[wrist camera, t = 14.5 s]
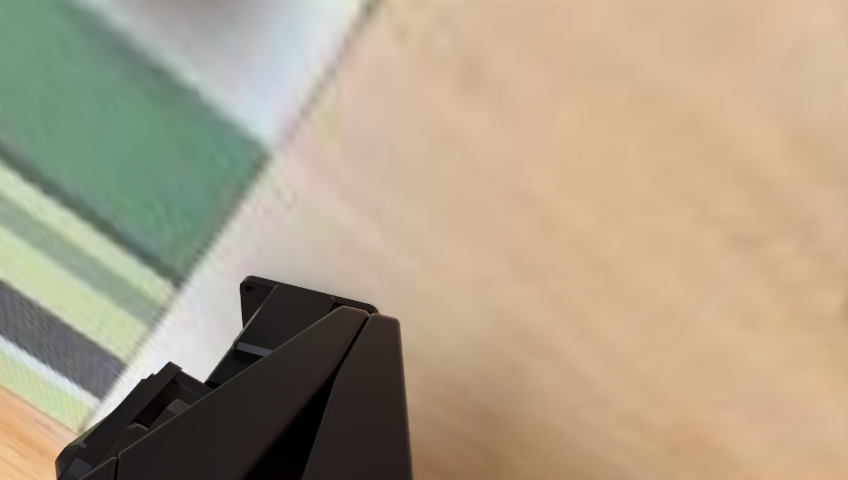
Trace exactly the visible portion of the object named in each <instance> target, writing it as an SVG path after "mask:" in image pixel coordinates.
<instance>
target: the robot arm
mask: <svg viewBox="0 0 848 480" xmlns="http://www.w3.org/2000/svg"><path fill="white" fill-rule="evenodd" d="M251 286H252V287H253V288H252V287H251ZM240 297H241V310H242V323H243V330H242V331H241V332H240V334H239V335H238V336H237V338H236V339H235V340H234V342H233V344H232V346H231V347H230V349H229V350H228V351H227V353H226V354H225V355H224V357H223V358H222V359H221V361H220V362H219V363H218V365H217V366H216V368H215V369H214V370H213V372H212V373H211V374H210V376H209V377H208V378H207V380H206V381H205V382H204V383H202V382H201V381H199V380H197V379H195V378H194V377H192V376H190V375H188V374H186V373H185V372H183V371H182V368H181V367H179V366H177V365H176V364H174V363H172V362H170V361H169V362H168V363H167V364H166V365H165V366H164V367H163V368H162V369H161V370H160V371H159V372H158V373H157V374H156V375H155V374H153V373H152V374H151V375H150V376H149V377H148V378H147V379H142V380H141V381H140V382H139V383H138V384H137V385H136V387H135V388H134V389H133V390H132V391H131V392H130V393H129V395H128V396H127V397H126V398H125V399H124V400H123V401H122V402H121V403H120V405H119V406H118V407H117V408H116V409H115V410H114V411H113V412H111V413H110V414H109V415H108V416H106V417H105V418H104V419H102V420H101V421H100V422H98V423H97V424H96V425H94V426H93V427H92V428H90V429H89V430H87V431H86V432H85V433H83V434H82V435H81V436H79V437H78V438H77V439H75V440H74V441H73V442H71V443H70V444H69V445H67V446H66V447H65V448H64V449H63V451H62V452H61V453H60V454H59V456H58V457H57V459H56V461H55V468H56V478H57V480H414V478H413V466H412V455H411V444H410V432H409V421H408V410H407V398H406V387H405V376H404V364H403V353H402V342H401V331H400V322H399V320H398V319H397V318H393V317H389V316H385V315H381V314H378V311H377V309H376V308H375V307H374V306H372V305H370V304H366V303H362V302H358V301H354V300H350V299H346V298H342V297H338V296H334V295H330V294H325V293H321V292H317V291H313V290H309V289H305V288H301V287H297V286H293V285H289V284H285V283H281V282H276V281H272V280H268V279H264V278H260V277H256V276H247V277H246V278H245V279H244V280H243V281H242V282H241V284H240Z"/></svg>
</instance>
